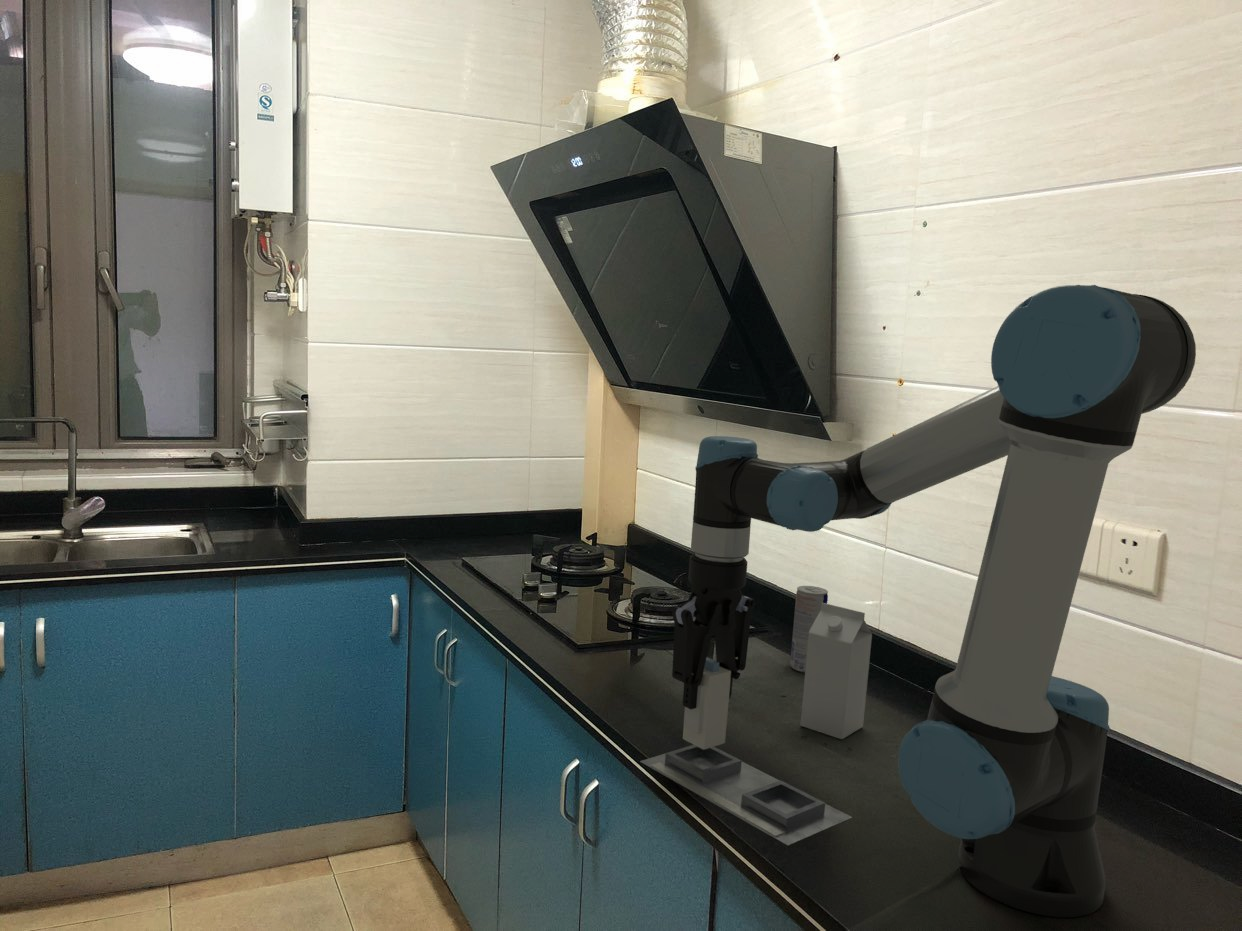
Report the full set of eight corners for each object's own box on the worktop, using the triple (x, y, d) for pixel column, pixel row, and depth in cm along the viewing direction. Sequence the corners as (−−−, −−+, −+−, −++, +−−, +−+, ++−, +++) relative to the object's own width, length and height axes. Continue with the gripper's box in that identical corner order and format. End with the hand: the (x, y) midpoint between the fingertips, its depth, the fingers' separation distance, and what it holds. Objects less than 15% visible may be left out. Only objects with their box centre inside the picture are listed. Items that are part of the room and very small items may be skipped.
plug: (724, 743, 129) (731, 662, 127) (703, 749, 126) (710, 667, 125) (703, 732, 132) (710, 653, 130) (682, 738, 129) (688, 658, 128)
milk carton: (821, 714, 154) (832, 598, 151) (863, 728, 149) (874, 608, 147) (799, 726, 148) (810, 606, 146) (842, 740, 144) (854, 617, 141)
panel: (851, 824, 118) (853, 805, 118) (787, 853, 110) (789, 832, 110) (702, 748, 138) (703, 731, 138) (639, 768, 130) (640, 750, 130)
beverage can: (821, 676, 172) (828, 594, 170) (789, 672, 173) (796, 590, 171) (821, 666, 178) (828, 586, 176) (790, 662, 179) (797, 583, 177)
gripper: (742, 543, 134) (729, 704, 137) (650, 555, 123) (638, 729, 126) (784, 555, 128) (769, 722, 131) (691, 568, 117) (677, 750, 120)
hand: (705, 726), depth 129 cm, fingers closed on plug, 4 cm apart
